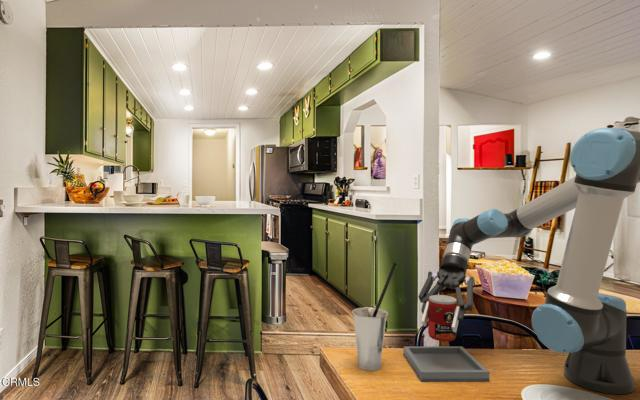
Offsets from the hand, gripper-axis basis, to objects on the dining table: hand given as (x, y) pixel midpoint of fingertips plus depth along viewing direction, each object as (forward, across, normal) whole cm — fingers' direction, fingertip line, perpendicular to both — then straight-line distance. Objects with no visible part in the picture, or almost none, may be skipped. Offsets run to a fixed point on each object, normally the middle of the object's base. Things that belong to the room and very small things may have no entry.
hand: (438, 326), depth 110 cm
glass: (+15, +16, -3) cm, 22 cm away
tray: (+6, -1, -11) cm, 13 cm away
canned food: (0, 0, -5) cm, 5 cm away
